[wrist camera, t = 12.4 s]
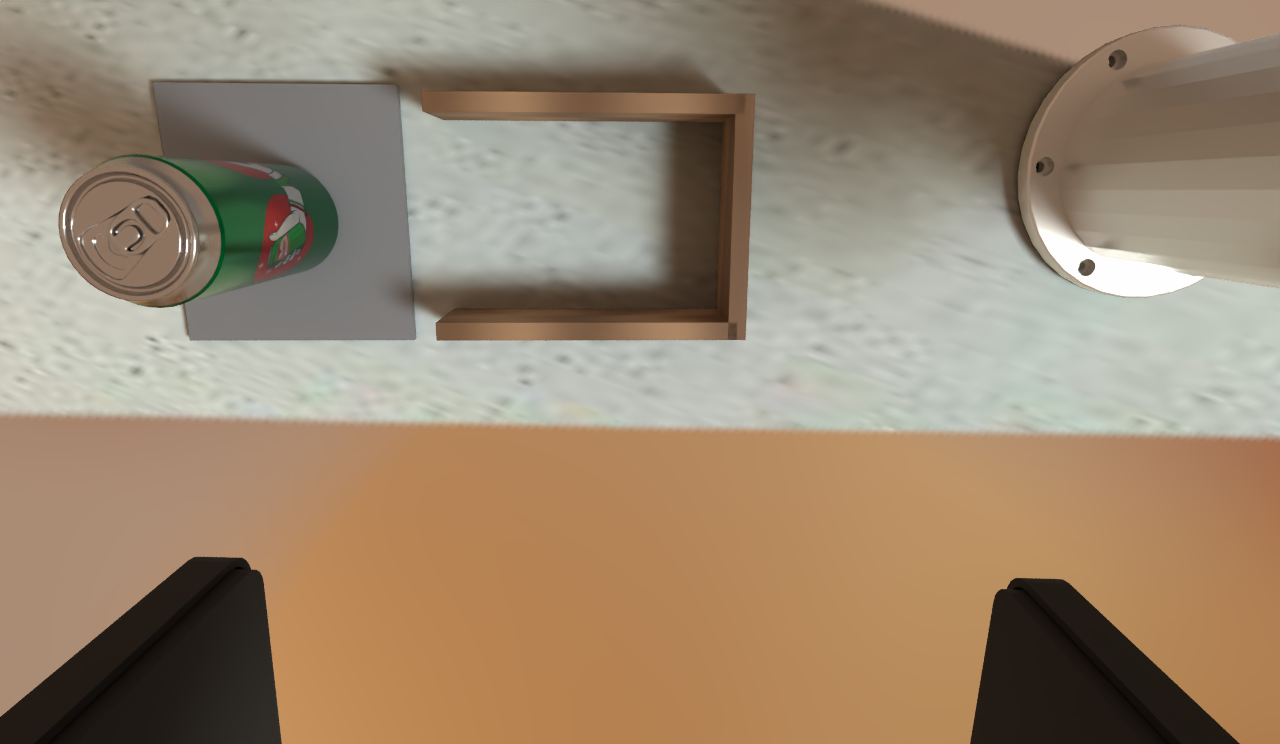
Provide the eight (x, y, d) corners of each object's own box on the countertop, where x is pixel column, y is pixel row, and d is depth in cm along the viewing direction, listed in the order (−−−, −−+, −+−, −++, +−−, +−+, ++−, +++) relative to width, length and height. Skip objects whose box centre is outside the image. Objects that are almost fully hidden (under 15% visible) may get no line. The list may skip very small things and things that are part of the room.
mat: (398, 85, 34) (396, 84, 34) (416, 338, 37) (414, 339, 37) (157, 83, 34) (152, 82, 34) (194, 338, 37) (190, 340, 37)
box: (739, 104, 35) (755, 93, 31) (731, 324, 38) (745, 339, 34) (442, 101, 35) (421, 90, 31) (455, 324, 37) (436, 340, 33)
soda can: (213, 208, 35) (10, 218, 23) (292, 141, 34) (123, 118, 23) (287, 292, 36) (129, 343, 24) (365, 229, 35) (240, 251, 24)
